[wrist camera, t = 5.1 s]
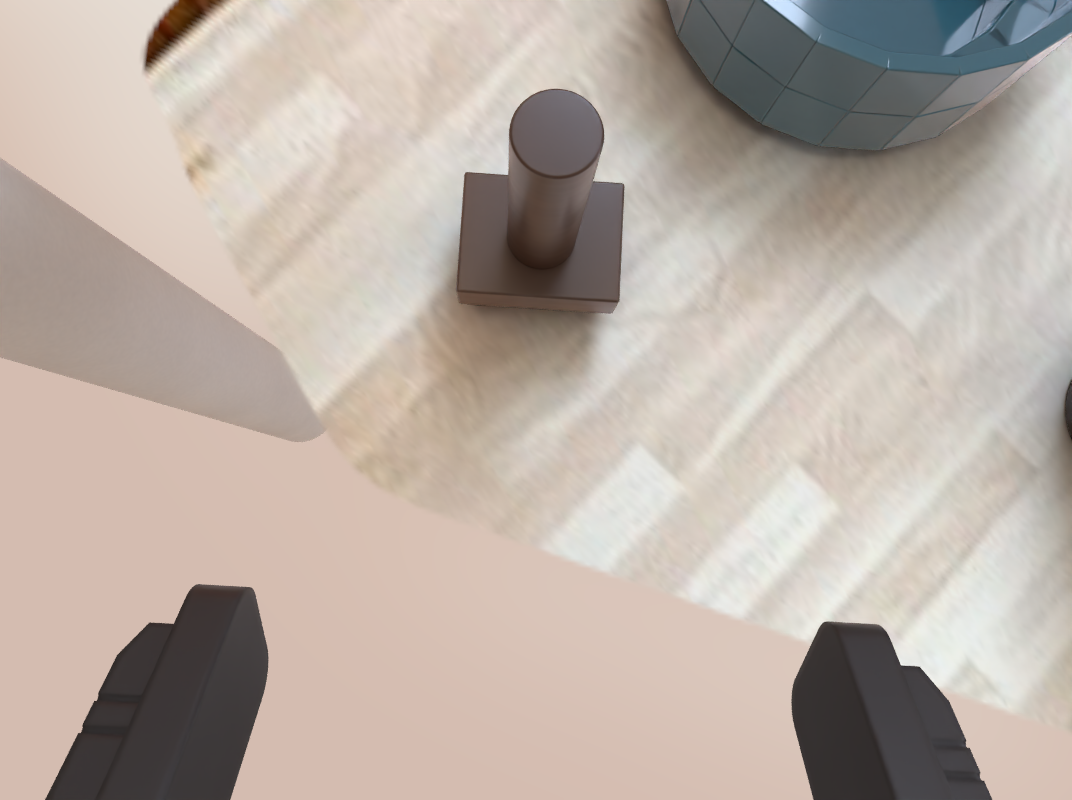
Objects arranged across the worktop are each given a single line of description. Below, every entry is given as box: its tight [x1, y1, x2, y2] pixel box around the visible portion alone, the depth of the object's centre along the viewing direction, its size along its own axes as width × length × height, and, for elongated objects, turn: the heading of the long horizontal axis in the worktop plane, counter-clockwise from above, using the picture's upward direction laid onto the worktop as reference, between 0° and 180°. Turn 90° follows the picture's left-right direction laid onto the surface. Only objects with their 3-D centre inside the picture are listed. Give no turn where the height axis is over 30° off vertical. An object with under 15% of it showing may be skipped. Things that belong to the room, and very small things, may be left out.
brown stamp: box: [456, 89, 624, 314], centre depth 23 cm, size 5×4×10 cm
